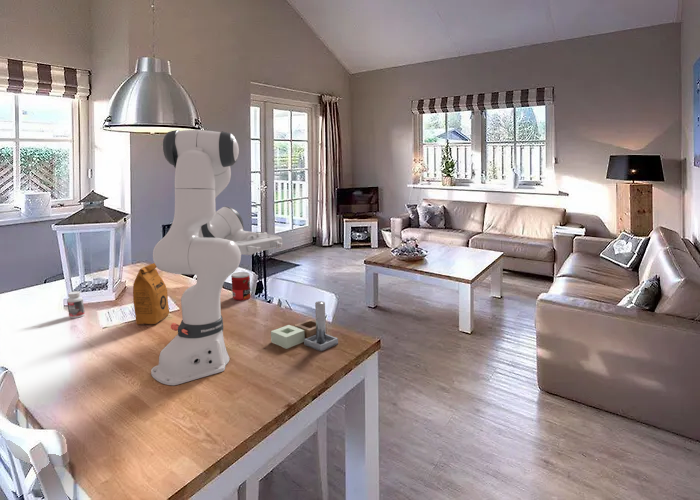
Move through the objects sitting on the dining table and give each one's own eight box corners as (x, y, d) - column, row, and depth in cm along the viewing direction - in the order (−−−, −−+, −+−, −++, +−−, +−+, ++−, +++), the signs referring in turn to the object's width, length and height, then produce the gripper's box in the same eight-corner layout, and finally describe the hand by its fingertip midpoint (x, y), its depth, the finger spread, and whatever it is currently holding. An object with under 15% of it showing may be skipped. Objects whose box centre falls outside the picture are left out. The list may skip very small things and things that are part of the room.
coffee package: (174, 315, 181) (169, 261, 176) (156, 327, 169) (150, 269, 164) (151, 314, 182) (145, 261, 178) (131, 325, 170) (125, 268, 166)
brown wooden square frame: (309, 341, 154) (309, 330, 154) (294, 335, 160) (293, 324, 159) (326, 334, 160) (326, 324, 159) (311, 329, 165) (310, 318, 165)
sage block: (286, 348, 149) (286, 337, 148) (271, 342, 154) (270, 331, 153) (304, 341, 155) (304, 330, 154) (289, 335, 160) (288, 324, 159)
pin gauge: (321, 345, 150) (320, 305, 147) (314, 342, 152) (313, 303, 149) (327, 342, 152) (327, 302, 149) (321, 339, 154) (320, 300, 151)
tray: (320, 351, 147) (320, 345, 146) (304, 344, 152) (304, 339, 151) (338, 343, 152) (337, 338, 152) (321, 337, 158) (321, 332, 157)
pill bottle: (68, 319, 177) (65, 295, 175) (69, 315, 182) (66, 291, 180) (84, 317, 180) (81, 293, 178) (85, 313, 184) (82, 289, 182)
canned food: (246, 301, 198) (245, 276, 196) (229, 300, 199) (228, 276, 197) (253, 295, 205) (252, 272, 203) (237, 295, 207) (235, 271, 205)
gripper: (222, 238, 162) (245, 243, 153) (268, 231, 177) (291, 235, 168) (223, 255, 163) (246, 261, 154) (268, 247, 178) (292, 252, 169)
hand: (270, 247), depth 161 cm, fingers open, 8 cm apart
